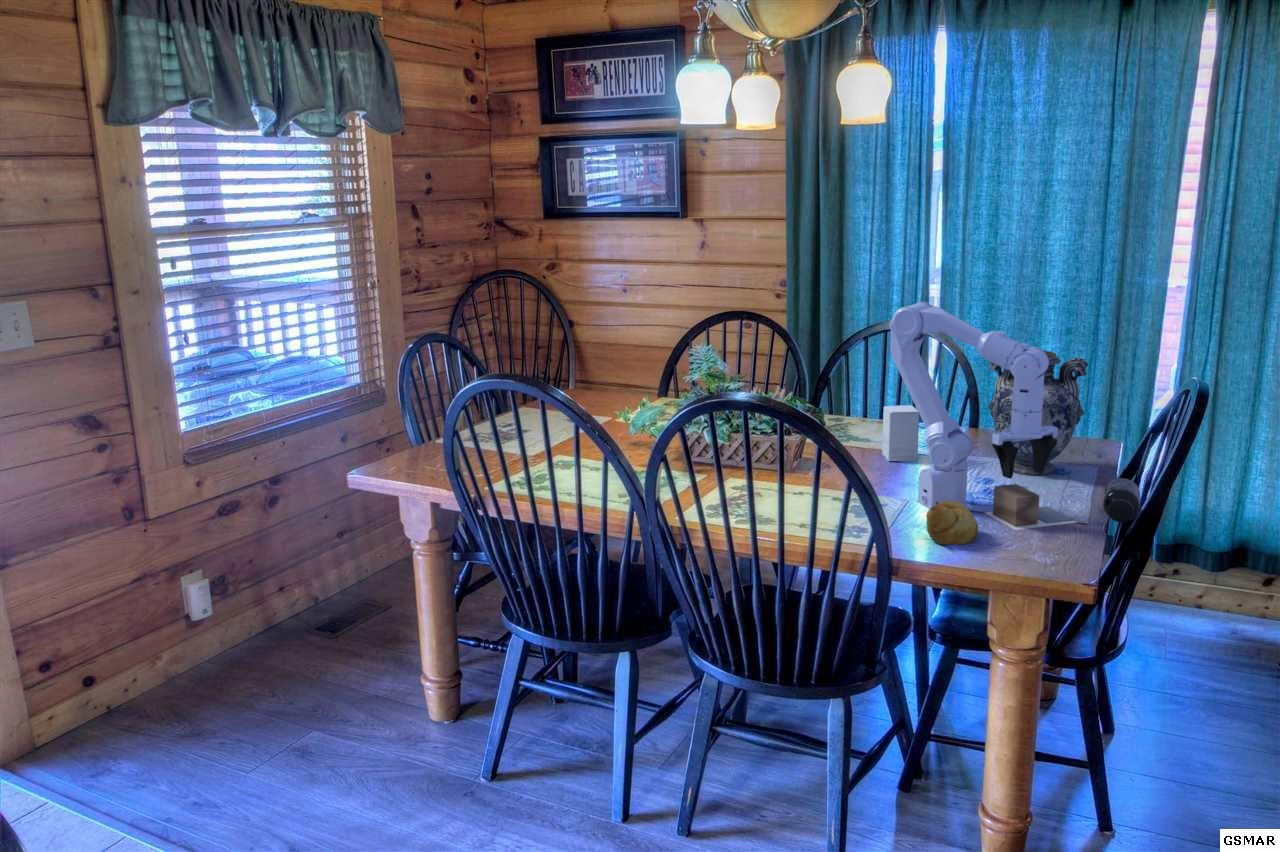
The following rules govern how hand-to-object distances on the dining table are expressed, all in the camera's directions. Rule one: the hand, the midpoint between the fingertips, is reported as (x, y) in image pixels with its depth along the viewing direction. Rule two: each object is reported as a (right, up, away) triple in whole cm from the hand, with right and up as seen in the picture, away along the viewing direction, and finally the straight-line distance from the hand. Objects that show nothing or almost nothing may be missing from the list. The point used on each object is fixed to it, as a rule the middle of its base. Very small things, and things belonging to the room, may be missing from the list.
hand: (1022, 474), depth 208 cm
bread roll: (-17, -12, -7) cm, 22 cm away
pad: (+6, -8, +2) cm, 10 cm away
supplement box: (-13, +2, +48) cm, 50 cm away
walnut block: (-1, -9, 0) cm, 9 cm away
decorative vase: (+15, -1, +35) cm, 38 cm away
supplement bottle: (+23, -4, +6) cm, 24 cm away
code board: (+2, -9, +1) cm, 10 cm away
